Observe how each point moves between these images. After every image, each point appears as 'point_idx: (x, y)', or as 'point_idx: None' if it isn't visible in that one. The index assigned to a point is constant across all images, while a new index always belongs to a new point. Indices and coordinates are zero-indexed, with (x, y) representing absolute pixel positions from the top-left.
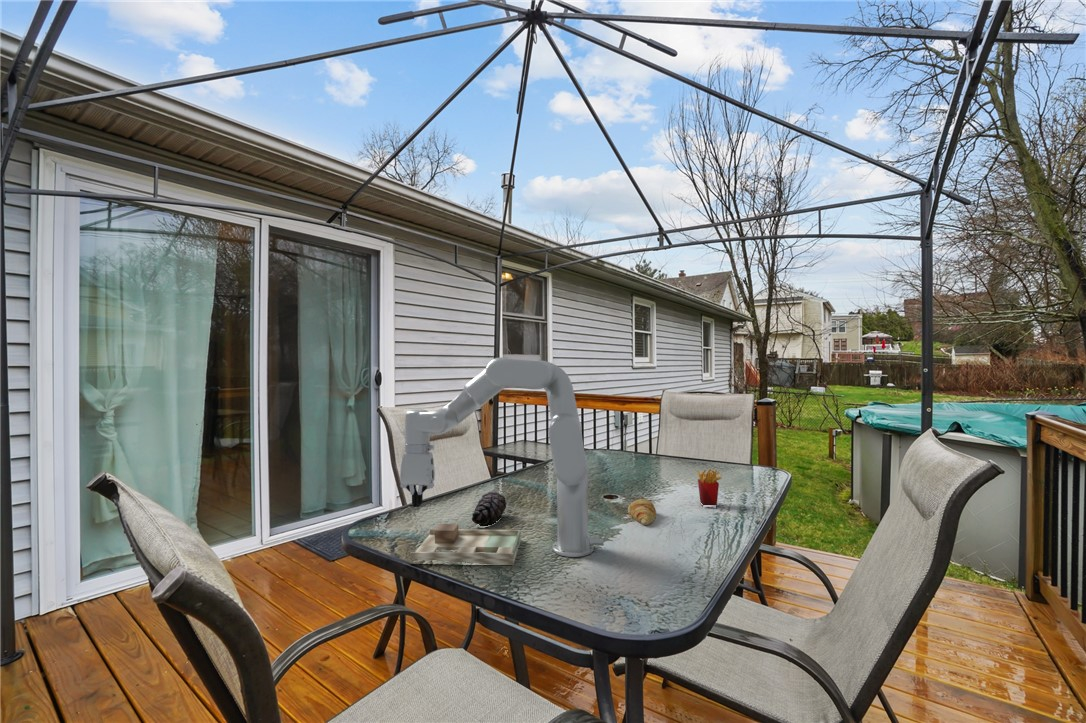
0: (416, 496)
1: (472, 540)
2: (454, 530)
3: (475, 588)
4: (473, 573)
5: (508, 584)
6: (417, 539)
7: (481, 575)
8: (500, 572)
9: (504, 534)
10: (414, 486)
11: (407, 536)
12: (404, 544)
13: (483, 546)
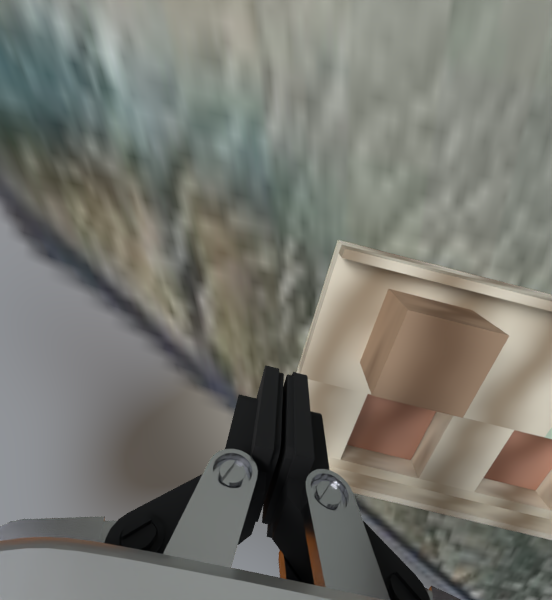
0: (268, 520)
1: (520, 369)
2: (467, 402)
3: (439, 580)
4: (453, 523)
5: (522, 583)
6: (279, 220)
7: (471, 536)
8: (527, 534)
9: None
10: (215, 550)
11: (228, 167)
12: (230, 268)
13: (543, 432)
